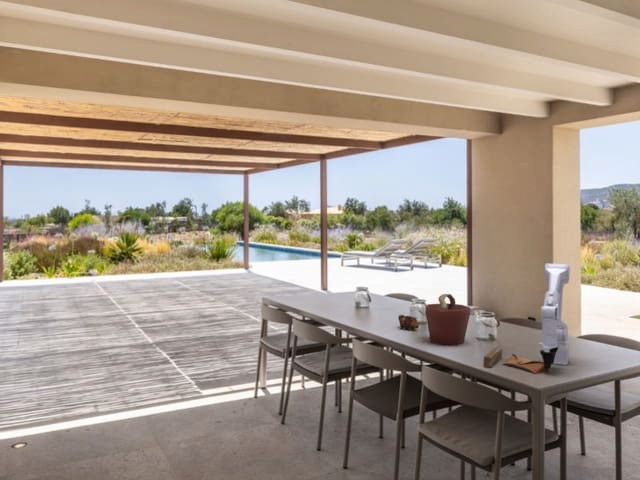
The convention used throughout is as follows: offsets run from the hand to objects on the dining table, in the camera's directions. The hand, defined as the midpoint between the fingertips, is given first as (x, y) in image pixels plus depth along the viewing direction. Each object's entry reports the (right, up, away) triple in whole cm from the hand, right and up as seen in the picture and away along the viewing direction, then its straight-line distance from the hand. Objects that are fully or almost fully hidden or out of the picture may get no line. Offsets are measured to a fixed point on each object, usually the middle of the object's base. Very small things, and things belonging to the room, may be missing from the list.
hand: (549, 365), depth 218 cm
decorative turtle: (-45, +1, +84) cm, 95 cm away
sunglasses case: (-9, -2, +4) cm, 10 cm away
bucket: (-31, 0, +52) cm, 60 cm away
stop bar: (-19, -1, +12) cm, 23 cm away
